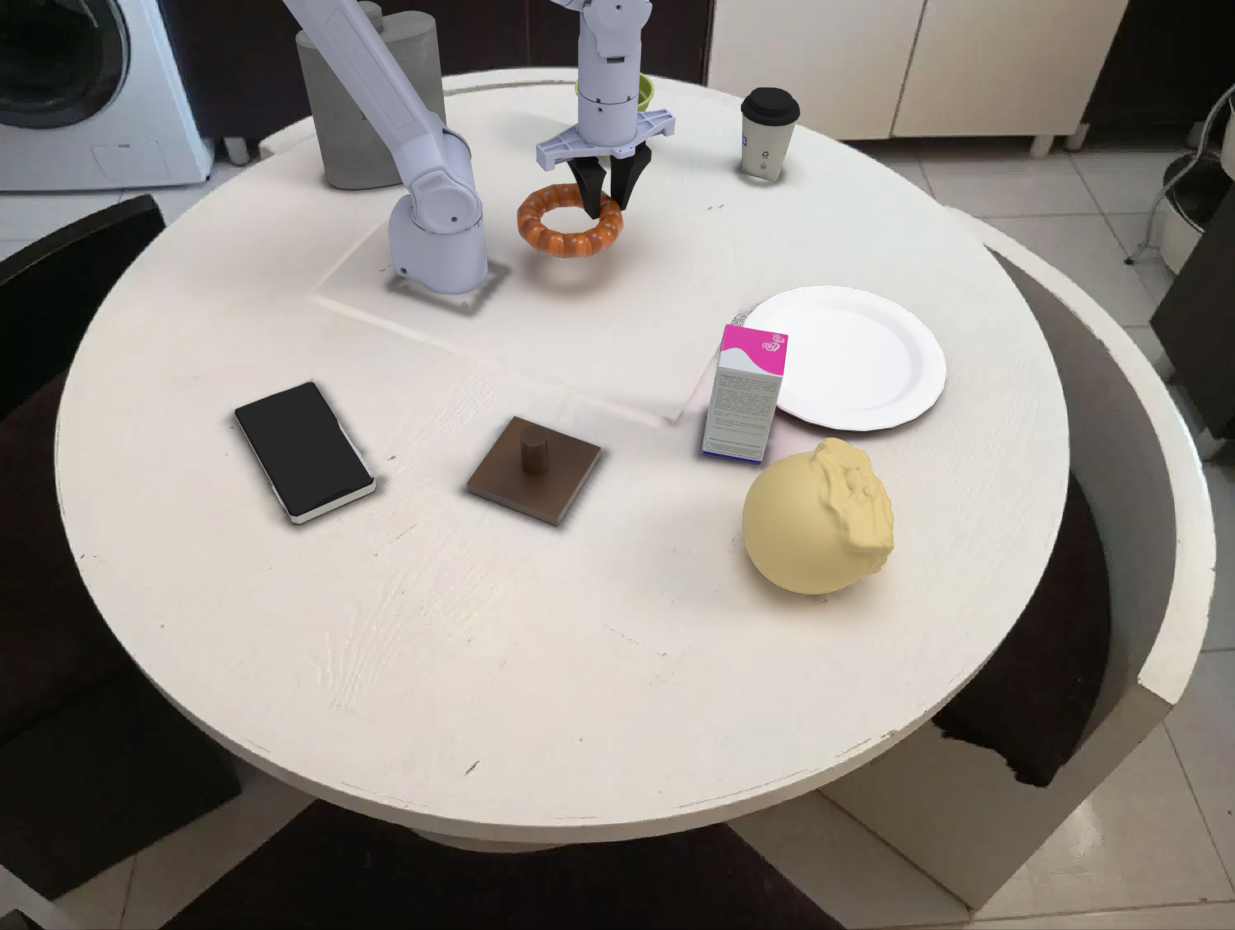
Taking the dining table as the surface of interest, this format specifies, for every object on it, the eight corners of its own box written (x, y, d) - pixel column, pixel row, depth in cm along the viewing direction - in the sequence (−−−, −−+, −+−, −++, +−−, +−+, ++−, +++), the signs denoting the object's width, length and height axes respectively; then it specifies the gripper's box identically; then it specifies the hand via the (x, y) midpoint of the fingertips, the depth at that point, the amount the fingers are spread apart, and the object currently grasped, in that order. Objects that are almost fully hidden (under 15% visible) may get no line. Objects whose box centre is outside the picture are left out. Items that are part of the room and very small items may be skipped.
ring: (499, 245, 101) (498, 225, 99) (545, 188, 107) (544, 169, 105) (597, 274, 98) (597, 254, 96) (637, 214, 105) (638, 195, 103)
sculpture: (890, 608, 82) (926, 531, 74) (747, 616, 81) (767, 539, 73) (858, 499, 89) (887, 418, 81) (726, 504, 88) (742, 423, 80)
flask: (333, 197, 115) (295, 30, 100) (323, 170, 119) (285, 4, 103) (457, 173, 119) (440, 8, 104) (444, 147, 123) (426, -16, 107)
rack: (467, 491, 88) (462, 453, 84) (514, 423, 94) (512, 385, 90) (557, 526, 86) (557, 489, 82) (601, 455, 92) (602, 417, 88)
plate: (777, 273, 109) (779, 261, 108) (964, 334, 104) (969, 322, 102) (703, 394, 97) (705, 382, 96) (911, 470, 92) (916, 459, 90)
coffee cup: (798, 169, 122) (812, 94, 114) (772, 197, 118) (786, 121, 111) (747, 151, 124) (759, 76, 117) (721, 177, 120) (731, 102, 113)
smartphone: (313, 378, 95) (378, 480, 87) (315, 387, 96) (380, 489, 88) (230, 410, 92) (290, 519, 84) (234, 419, 93) (293, 528, 85)
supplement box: (763, 466, 91) (783, 378, 83) (699, 455, 92) (712, 366, 83) (769, 420, 95) (789, 332, 86) (708, 410, 96) (722, 321, 87)
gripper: (559, 128, 88) (560, 251, 99) (696, 90, 93) (684, 211, 104) (524, 91, 92) (529, 213, 103) (657, 56, 97) (649, 176, 107)
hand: (604, 210), depth 103 cm, fingers closed on ring, 3 cm apart
